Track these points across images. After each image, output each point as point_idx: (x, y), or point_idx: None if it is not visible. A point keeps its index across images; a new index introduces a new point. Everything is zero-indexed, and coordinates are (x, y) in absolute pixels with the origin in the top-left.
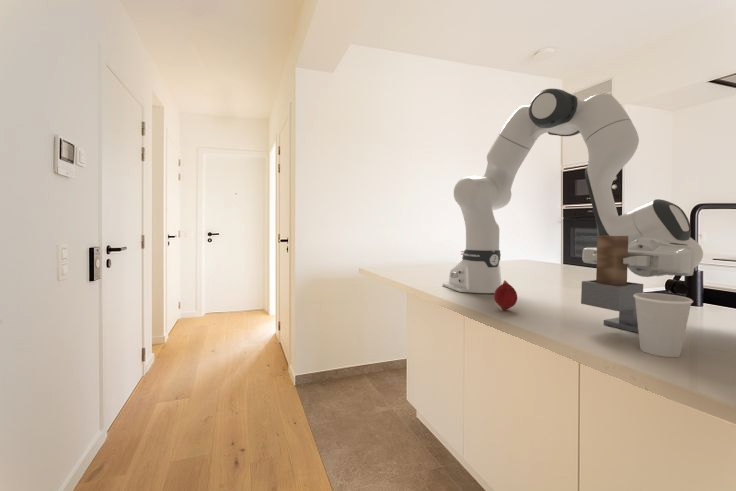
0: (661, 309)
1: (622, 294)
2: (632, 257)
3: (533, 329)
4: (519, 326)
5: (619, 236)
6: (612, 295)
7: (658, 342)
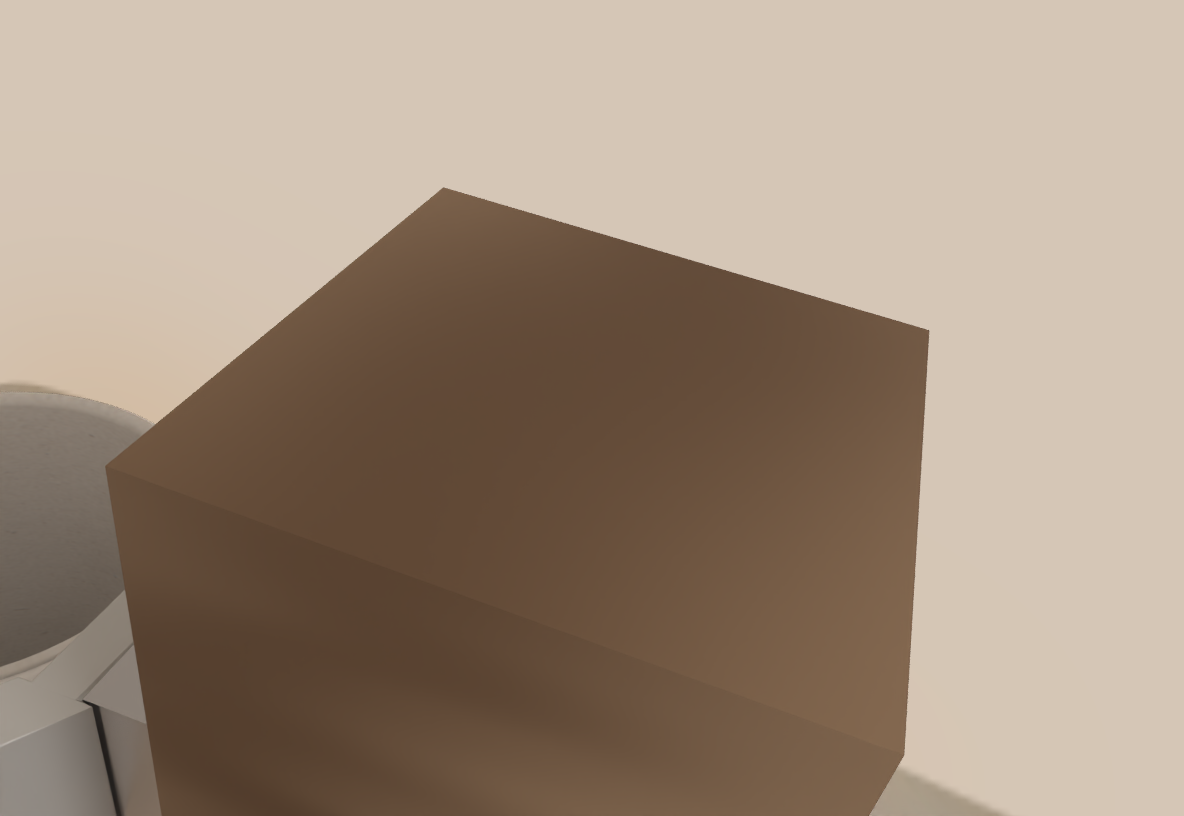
0: (39, 455)
1: None
2: (122, 602)
3: (879, 798)
4: (985, 810)
5: (385, 243)
6: None
7: None
